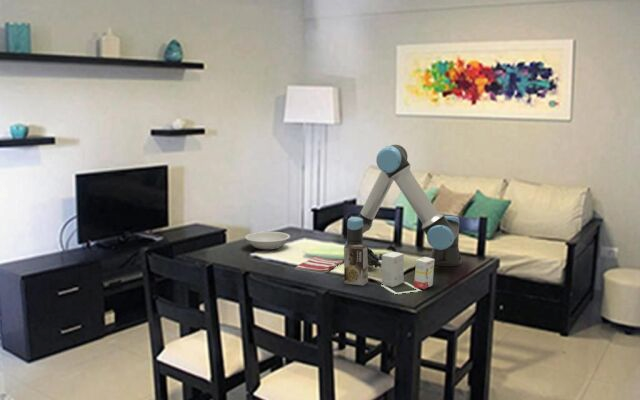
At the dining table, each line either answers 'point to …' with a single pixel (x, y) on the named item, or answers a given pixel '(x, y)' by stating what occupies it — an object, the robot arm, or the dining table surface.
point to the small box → (392, 269)
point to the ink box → (424, 272)
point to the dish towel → (318, 265)
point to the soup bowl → (267, 239)
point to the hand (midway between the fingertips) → (385, 267)
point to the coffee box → (356, 264)
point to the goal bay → (402, 292)
